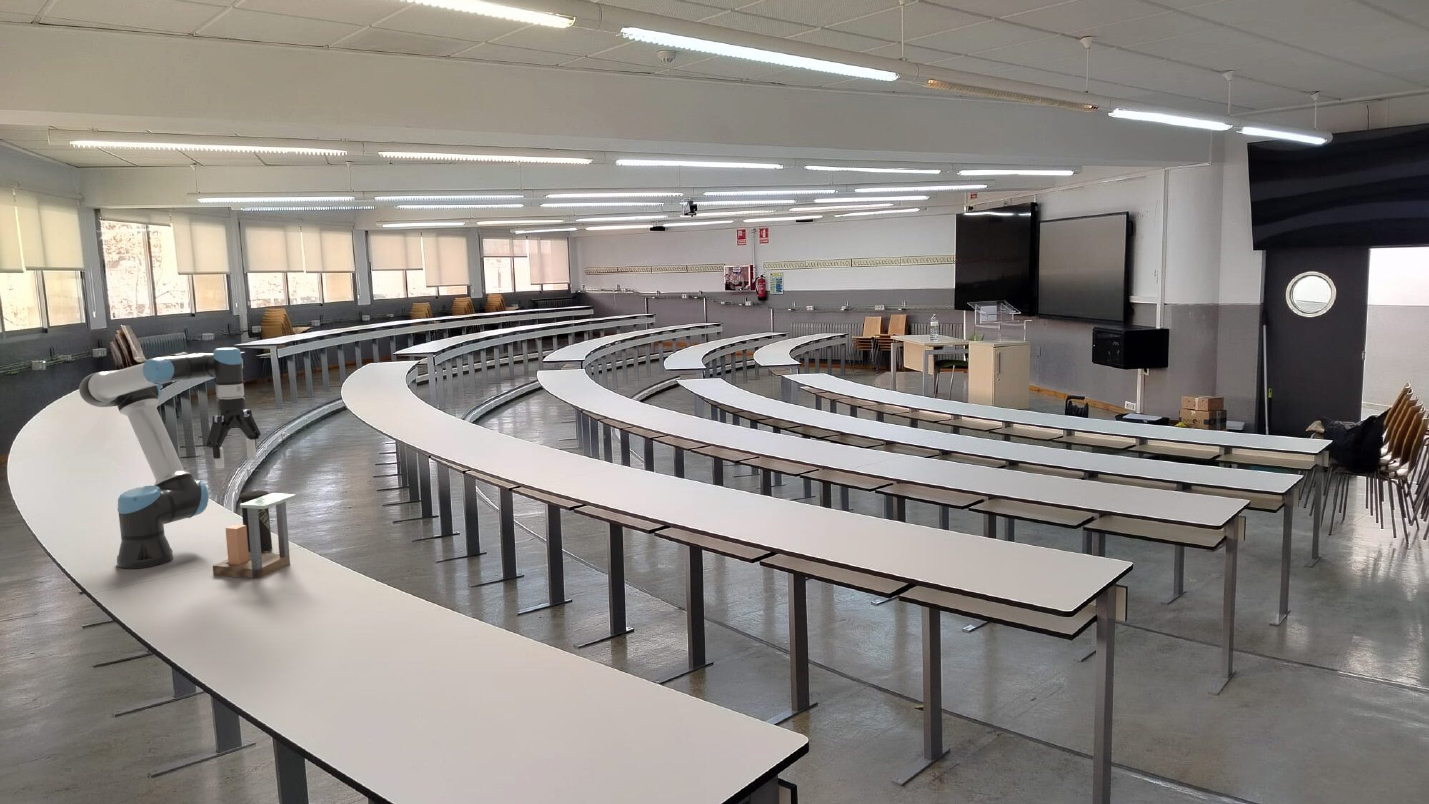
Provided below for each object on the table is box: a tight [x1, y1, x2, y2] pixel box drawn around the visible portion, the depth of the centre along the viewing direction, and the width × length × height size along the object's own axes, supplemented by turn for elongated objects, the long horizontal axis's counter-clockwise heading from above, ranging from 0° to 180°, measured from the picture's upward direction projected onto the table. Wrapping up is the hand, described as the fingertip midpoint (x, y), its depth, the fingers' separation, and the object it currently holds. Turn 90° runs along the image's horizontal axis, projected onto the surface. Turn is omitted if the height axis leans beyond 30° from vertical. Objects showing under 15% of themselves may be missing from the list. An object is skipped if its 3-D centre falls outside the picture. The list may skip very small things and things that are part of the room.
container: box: [238, 489, 273, 553], centre depth 294 cm, size 9×9×20 cm
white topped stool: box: [239, 492, 297, 580], centre depth 273 cm, size 8×14×23 cm, turn 167°
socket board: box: [212, 552, 291, 580], centre depth 276 cm, size 16×14×3 cm
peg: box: [225, 524, 249, 565], centre depth 274 cm, size 4×4×14 cm
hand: (236, 463), depth 280 cm, fingers open, 13 cm apart
